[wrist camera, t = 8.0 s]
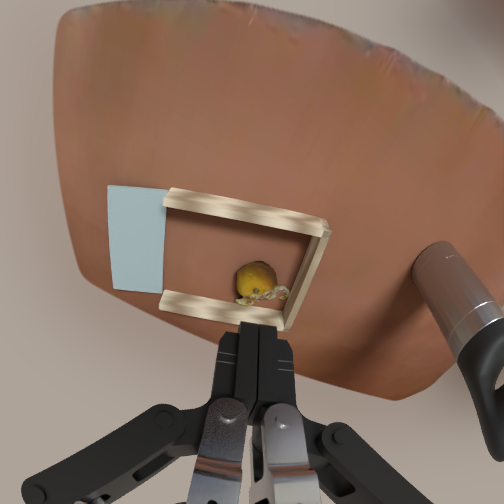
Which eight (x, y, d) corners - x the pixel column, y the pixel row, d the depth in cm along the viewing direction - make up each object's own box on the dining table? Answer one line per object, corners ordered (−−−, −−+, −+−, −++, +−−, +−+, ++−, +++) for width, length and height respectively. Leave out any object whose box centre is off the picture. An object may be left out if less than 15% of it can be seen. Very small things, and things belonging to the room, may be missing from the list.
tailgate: (168, 191, 34) (107, 186, 33) (162, 293, 44) (113, 288, 42) (168, 189, 35) (108, 185, 33) (162, 291, 44) (114, 287, 42)
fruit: (240, 306, 46) (239, 323, 43) (222, 265, 41) (219, 282, 38) (291, 295, 44) (293, 312, 41) (279, 252, 40) (280, 268, 37)
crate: (325, 218, 37) (331, 232, 34) (287, 316, 46) (288, 332, 43) (171, 187, 35) (163, 198, 32) (164, 294, 44) (158, 309, 41)
